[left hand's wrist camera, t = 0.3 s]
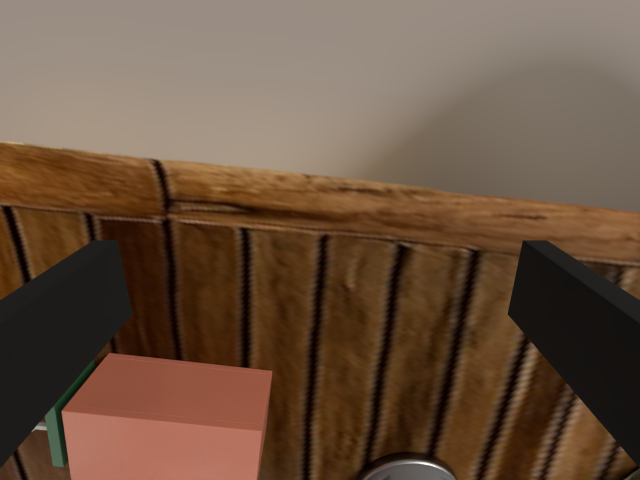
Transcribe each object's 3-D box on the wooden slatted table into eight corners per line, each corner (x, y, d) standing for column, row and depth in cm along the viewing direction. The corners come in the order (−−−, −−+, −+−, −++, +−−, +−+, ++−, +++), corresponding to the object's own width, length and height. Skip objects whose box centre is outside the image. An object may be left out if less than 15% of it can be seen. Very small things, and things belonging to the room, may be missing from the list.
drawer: (48, 409, 49) (3, 461, 42) (39, 354, 46) (-11, 400, 39) (238, 428, 51) (225, 482, 43) (242, 376, 47) (228, 425, 40)
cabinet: (113, 413, 51) (71, 479, 42) (108, 352, 47) (61, 411, 38) (266, 429, 52) (254, 497, 43) (272, 370, 48) (262, 431, 39)
